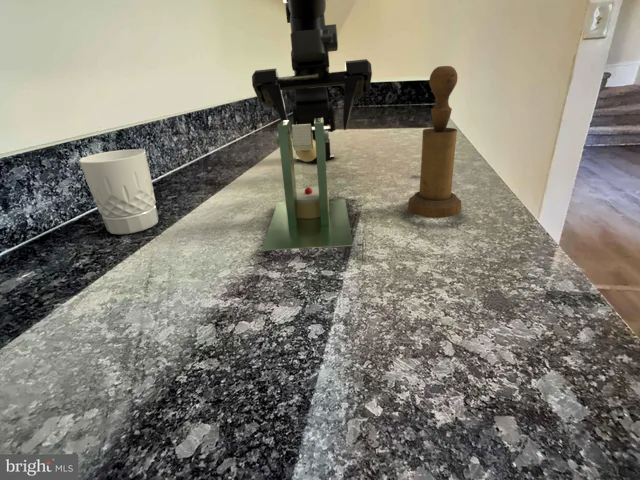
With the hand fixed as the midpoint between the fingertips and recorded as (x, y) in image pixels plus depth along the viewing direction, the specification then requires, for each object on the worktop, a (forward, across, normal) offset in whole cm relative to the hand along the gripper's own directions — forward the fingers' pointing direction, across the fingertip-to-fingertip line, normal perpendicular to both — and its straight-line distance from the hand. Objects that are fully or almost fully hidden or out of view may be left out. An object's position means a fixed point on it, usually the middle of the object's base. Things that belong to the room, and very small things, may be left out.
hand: (316, 131), depth 58 cm
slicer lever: (+8, -1, -11) cm, 14 cm away
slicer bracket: (+17, -2, -9) cm, 19 cm away
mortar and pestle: (+17, +15, -7) cm, 23 cm away
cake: (+14, -2, -7) cm, 16 cm away
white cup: (+14, -27, -5) cm, 31 cm away
